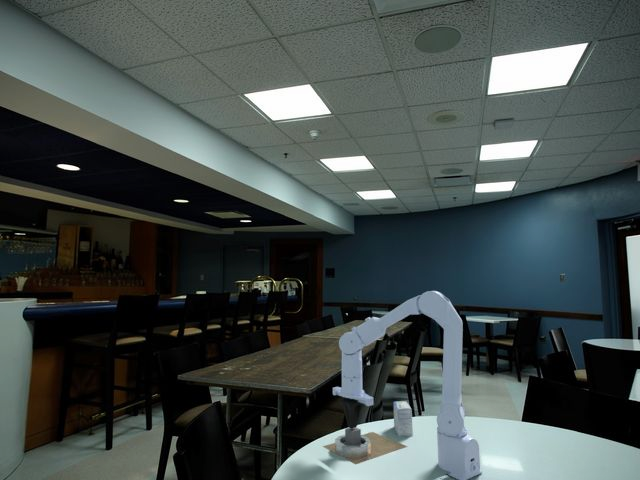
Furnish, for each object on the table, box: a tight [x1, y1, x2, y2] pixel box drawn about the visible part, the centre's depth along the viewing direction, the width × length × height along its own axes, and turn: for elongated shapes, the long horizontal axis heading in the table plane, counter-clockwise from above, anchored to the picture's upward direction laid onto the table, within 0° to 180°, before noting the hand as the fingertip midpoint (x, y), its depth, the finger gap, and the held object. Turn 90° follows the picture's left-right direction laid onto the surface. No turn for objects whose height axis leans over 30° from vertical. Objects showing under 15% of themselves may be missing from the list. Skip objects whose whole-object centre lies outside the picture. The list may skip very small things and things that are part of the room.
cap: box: [343, 427, 363, 446], centre depth 109 cm, size 6×6×6 cm
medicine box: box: [393, 400, 414, 437], centre depth 123 cm, size 8×4×9 cm, turn 179°
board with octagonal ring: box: [322, 431, 408, 465], centre depth 111 cm, size 14×19×3 cm
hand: (352, 427), depth 109 cm, fingers closed
